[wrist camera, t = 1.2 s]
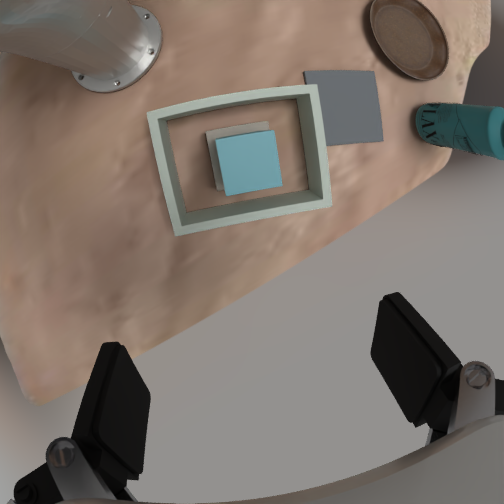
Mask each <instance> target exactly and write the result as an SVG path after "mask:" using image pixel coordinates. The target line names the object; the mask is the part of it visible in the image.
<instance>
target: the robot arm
mask: <svg viewBox="0 0 504 504" xmlns="http://www.w3.org/2000/svg"><path fill="white" fill-rule="evenodd" d="M147 18H148V19H147ZM161 46H162V30H161V26H160V24H159V22H158V20H157V19H156V17H155V16H154V15H153V14H152V13H151V12H150V11H148V10H147V9H145V8H143V7H140V6H135V5H131V4H130V3H129V2H128V0H0V52H7V53H12V54H16V55H21V56H25V57H28V58H31V59H35V60H38V61H42V62H45V63H49V64H52V65H55V66H58V67H62V68H65V69H68V70H71V72H72V74H73V76H74V78H75V80H76V81H77V82H78V83H79V84H80V85H81V86H83V87H84V88H86V89H89V90H91V91H95V92H104V93H106V92H114V91H117V90H121V89H124V88H126V87H128V86H130V85H132V84H133V83H135V82H136V81H138V80H139V79H140V78H141V77H142V76H144V75H145V74H146V73H147V72H148V70H149V69H150V68H151V67H152V66H153V64H154V62H155V61H156V59H157V57H158V55H159V52H160V50H161ZM152 52H154V54H153V55H151V53H152ZM83 77H84V78H83ZM119 82H120V85H119V86H118V83H119ZM371 358H372V360H373V361H374V363H375V365H376V367H377V368H378V370H379V372H380V373H381V375H382V377H383V378H384V380H385V382H386V384H387V385H388V387H389V389H390V390H391V392H392V394H393V396H394V397H395V399H396V401H397V403H398V404H399V406H400V408H401V409H402V411H403V413H404V415H405V417H406V418H407V420H408V421H409V422H410V423H412V422H413V424H414V426H415V427H418V426H421V425H423V424H425V423H427V424H428V426H429V427H430V429H429V433H428V437H427V441H426V445H425V447H422V448H420V449H419V450H416V451H414V452H412V453H410V454H408V455H405V456H403V457H401V458H399V459H397V460H394V461H392V462H389V463H387V464H385V465H382V466H380V467H377V468H375V469H372V470H369V471H366V472H364V473H361V474H358V475H355V476H352V477H349V478H346V479H343V480H339V481H336V482H333V483H329V484H326V485H322V486H319V487H314V488H310V489H306V490H302V491H297V492H293V493H288V494H283V495H277V496H272V497H265V498H258V499H251V500H242V501H232V502H219V503H197V504H504V380H499V379H495V377H494V373H493V371H492V369H491V368H490V367H489V366H488V365H486V364H484V363H483V362H479V361H472V362H468V363H467V364H465V365H464V366H462V364H461V361H460V360H459V359H458V358H457V357H456V355H455V354H454V353H453V352H452V351H451V349H450V348H449V347H448V346H447V345H446V343H445V342H444V341H443V340H442V339H441V338H440V337H439V335H438V334H437V333H436V332H435V331H434V330H433V329H432V327H431V326H430V325H429V324H428V323H427V322H426V321H425V320H424V318H423V317H422V316H420V314H419V313H418V312H417V311H416V310H415V309H414V308H413V306H412V305H411V304H410V303H409V302H408V301H407V300H406V299H405V298H404V297H403V296H402V295H401V294H400V293H399V292H396V293H392V294H388V295H385V296H384V297H383V300H381V301H380V302H379V308H378V315H377V320H376V326H375V332H374V337H373V342H372V347H371ZM150 400H151V398H150V392H149V390H148V388H147V386H146V385H145V383H144V381H143V379H142V378H141V376H140V374H139V372H138V371H137V369H136V367H135V365H134V363H133V361H132V359H131V357H130V355H129V354H128V352H127V350H126V348H125V346H124V345H121V344H120V343H119V342H106V343H103V344H102V346H101V348H100V351H99V354H98V356H97V359H96V362H95V365H94V367H93V370H92V373H91V376H90V379H89V381H88V384H87V386H86V390H85V393H84V396H83V399H82V402H81V405H80V408H79V412H78V415H77V419H76V422H75V425H74V429H73V433H72V436H71V438H68V437H60V438H57V439H55V440H54V441H53V442H51V443H50V445H49V446H48V448H47V451H46V463H44V464H43V465H41V466H40V467H38V468H37V469H35V470H34V471H32V472H31V473H29V474H28V475H26V476H25V477H23V478H21V479H20V480H19V481H18V482H17V483H16V485H15V488H14V498H15V500H12V499H10V500H9V502H8V503H7V504H174V503H148V502H138V501H137V500H136V498H135V497H134V496H133V495H132V493H131V492H130V491H129V489H128V488H127V487H126V485H127V479H128V480H138V479H139V474H141V473H142V472H143V464H144V453H145V442H146V433H147V424H148V416H149V408H150Z"/></svg>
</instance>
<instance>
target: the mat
mask: <svg viewBox="0 0 504 504" xmlns="http://www.w3.org/2000/svg"><path fill="white" fill-rule="evenodd" d="M303 73H304V79H305V84H306V85H311V84H317V87H318V93H319V99H320V105H321V112H322V119H323V126H324V133H325V141H326V146H330V145H340V144H352V143H364V142H380V141H383V130H382V121H381V113H380V105H379V98H378V92H377V85H376V79H375V74H374V71H352V70H323V71H304V72H303Z"/></svg>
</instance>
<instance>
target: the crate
mask: <svg viewBox="0 0 504 504" xmlns="http://www.w3.org/2000/svg"><path fill="white" fill-rule="evenodd" d="M286 99H296V100H297V106H298V112H299V118H300V125H301V131H302V138H303V145H304V153H305V160H306V168H307V176H308V185H309V190H303V191H297V192H291V193H285V194H280V195H274V196H268V197H263V198H257V199H252V200H247V201H241V202H236V203H231V204H226V205H221V206H216V207H211V208H206V209H202V210H197V211H192V212H188V213H187V212H186V208H185V204H184V200H183V195H182V191H181V187H180V182H179V178H178V173H177V169H176V164H175V160H174V155H173V150H172V145H171V140H170V135H169V130H168V125H167V121H168V120H172V119H176V118H180V117H184V116H188V115H193V114H197V113H202V112H207V111H212V110H217V109H222V108H228V107H234V106H240V105H246V104H253V103H260V102H268V101H277V100H286ZM147 117H148V122H149V128H150V133H151V137H152V142H153V147H154V152H155V156H156V161H157V165H158V170H159V174H160V179H161V183H162V187H163V191H164V195H165V199H166V203H167V207H168V211H169V215H170V219H171V223H172V226H173V230H174V234H175V237H176V236H180V235H185V234H190V233H195V232H199V231H204V230H209V229H214V228H219V227H224V226H229V225H234V224H239V223H244V222H249V221H255V220H260V219H265V218H270V217H276V216H281V215H287V214H292V213H298V212H303V211H309V210H314V209H320V208H326V207H332V198H331V186H330V176H329V166H328V157H327V149H326V141H325V133H324V126H323V119H322V112H321V105H320V99H319V93H318V87H317V84H311V85H296V86H284V87H274V88H265V89H257V90H250V91H243V92H236V93H230V94H224V95H219V96H213V97H208V98H203V99H198V100H194V101H189V102H185V103H181V104H177V105H172V106H169V107H165V108H161V109H157V110H154V111H150V112H147ZM263 130H269V124H268V121H263V122H256V123H250V124H244V125H238V126H232V127H227V128H221V129H216V130H211V131H206V137H207V142H208V147H209V152H210V157H211V162H212V167H213V173H214V178H215V183H216V187H217V191H221V190H225V188H224V183H223V178H222V172H221V167H220V162H219V157H218V152H217V146H216V141H215V140H216V138H221V137H226V136H231V135H237V134H243V133H249V132H255V131H263Z"/></svg>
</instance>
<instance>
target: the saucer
mask: <svg viewBox="0 0 504 504" xmlns="http://www.w3.org/2000/svg"><path fill="white" fill-rule="evenodd" d="M370 22H371V27H372V31H373V34H374V37H375V39H376V41H377V43H378V45H379V46H380V48H381V50H382V51H383V53H384V54H385V55H386V56H387V57H388V59H389V60H390V61H391V62H392V63H393V64H394V65H395V66H397V67H398V68H399V69H400V70H401V71H403V72H404V73H406V74H407V75H409V76H411V77H413V78H416V79H420V80H433V79H436V78H437V77H439V76H440V75H441V74H442V73H443V72H444V71H445V69H446V67H447V64H448V59H449V48H448V43H447V39H446V36H445V33H444V31H443V29H442V27H441V25H440V24H439V22H438V20H437V19H436V17H435V16H434V15H433V14H432V12H431V11H430V10H429V9H428V8H427V7H426V6H424V5H423V4H422V3H421V2H419V1H418V0H374V1H373V3H372V5H371V9H370Z"/></svg>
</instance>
